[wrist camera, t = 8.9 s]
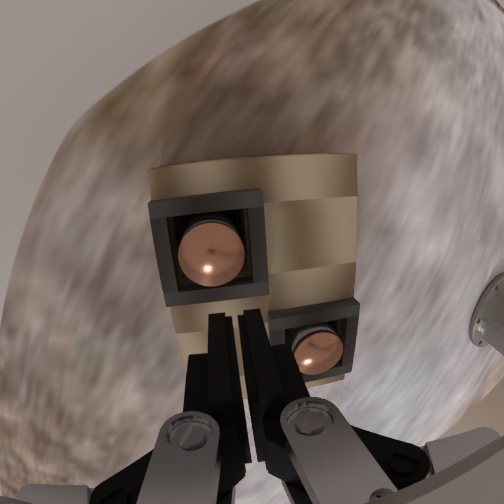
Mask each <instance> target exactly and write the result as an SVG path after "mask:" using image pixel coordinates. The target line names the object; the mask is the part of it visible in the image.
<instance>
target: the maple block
mask: <svg viewBox="0 0 504 504" xmlns="http://www.w3.org/2000/svg"><path fill="white" fill-rule="evenodd" d="M148 178H149V187H150V195H151V201H150V202H149V203H148V209H149V216H150V222H151V229H152V235H153V241H154V247H155V252H156V258H157V263H158V268H159V274H160V279H161V284H162V289H163V293H164V298H165V303H166V307H170V309H171V314H172V318H173V323H174V327H175V331H176V335H177V339H178V343H179V348H180V351H181V355H182V359H183V363H184V367H185V371H186V373H187V363H188V356H189V354H201V353H207V352H208V314H213V313H223V312H225V315H226V316H232V320H233V328H234V336H235V344H236V351H237V359H238V366H239V374H240V381H241V389H242V396H243V399H248V397H247V390H246V383H245V376H244V368H243V360H242V352H241V343H240V335H239V326H238V318H237V315H243V310H249V309H258V308H260V311H261V314H262V318H263V321H264V324H265V328H266V331H267V335H268V338H269V342H270V345H271V346H272V345H279V344H286V343H285V329H289V328H295V327H300V326H306V325H312V324H317V323H322V322H328V323H329V324H330V326H331V327H332V329H333V330H334V331H335V333H336V334H337V336H338V337H339V339H340V340H341V342H342V344H343V353H342V356H341V358H340V359H339V361H338V362H337V363H336V364H335V365H334V366H333V367H332V368H330V369H329V370H327V371H325V372H323V373H320V374H315V375H308V374H304V373H302V372H301V374H302V377H303V380H304V382H305V385H306V387H307V388H309V387H314V386H318V385H323V384H327V383H331V382H335V381H339V380H343V379H344V375H345V373H349V372H351V370H352V364H353V357H354V350H355V343H356V336H357V327H358V319H359V310H360V303H359V302H358V301H357V300H356V299H355V298H354V284H355V268H356V247H357V156H356V154H341V153H311V154H285V155H267V156H252V157H239V158H228V159H218V160H208V161H199V162H191V163H183V164H175V165H168V166H161V167H156V168H152V169H149V170H148ZM234 209H239V216H240V227H241V239H242V244H243V247H244V252H245V257H244V262H243V266H242V268H241V270H240V271H239V273H238V274H237V275H236V276H235V277H234V278H233V279H232V280H231V281H229V282H227V283H225V284H222V285H219V286H203V285H200V284H197V283H195V282H194V281H192V280H191V279H189V278H188V277H187V276H186V275H185V273H184V272H183V270H182V269H181V266H180V264H179V259H178V251H179V246H180V243H181V235H180V228H179V221H178V216H181V215H189V214H198V213H206V212H215V211H224V210H234Z"/></svg>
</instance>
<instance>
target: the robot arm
mask: <svg viewBox="0 0 504 504" xmlns="http://www.w3.org/2000/svg"><path fill="white" fill-rule="evenodd" d="M237 318H238V326H239V335H240V343H241V352H242V360H243V368H244V376H245V383H246V390H247V397H248V403H249V410H250V416H251V423H252V429H253V435H254V442H255V448H256V454H257V460H258V462H262V461H265V464H266V469H267V470H268V473H270V474H272V475H273V476H275V477H277V478H279V479H281V481H282V485H283V487H284V489H285V492H286V494H287V496H288V498H289V501H290V503H291V504H504V436H502V437H501V436H500V435H499V434H498V432H496V431H495V430H493V429H491V428H487V427H481V428H477V429H474V430H471V431H467V432H464V433H461V434H458V435H454V436H450V437H446V438H442V439H438V440H434V441H430V442H426V444H425V445H424V446H421V447H418V446H416V445H413V444H410V443H407V442H403V441H399V440H396V439H392V438H389V437H386V436H382V435H379V434H376V433H373V432H369V431H366V430H363V429H360V428H357V427H354V426H351V425H350V424H349V423H348V422H347V420H346V419H345V417H344V416H343V415H342V413H341V412H340V410H339V409H338V408H337V407H336V406H335V405H334V404H333V403H332V402H330V401H328V400H326V399H322V398H318V397H310V395H309V392H308V390H307V387H306V385H305V382H304V380H303V377H302V374H301V372H300V369H299V367H298V364H297V361H296V359H295V356H294V354H293V351H292V349H291V346H290V344H289V343H286V344H279V345H272V346H271V345H270V342H269V338H268V335H267V331H266V328H265V324H264V321H263V318H262V314H261V311H260V308H258V309H249V310H243V315H237ZM470 339H471V342H472V343H474V344H475V345H476V346H477V347H483V346H486V345H488V344H490V345H491V346H493V347H494V348H495V349H496V350H497V351H499V352H500V353H501V354H502V355H503V356H504V273H502V274H501V275H499V276H498V277H497V278H495V279H494V280H493V281H492V283H491V284H490V285H489V286H488V288H487V289H486V290H485V292H484V293H483V295H482V297H481V299H480V300H479V302H478V304H477V306H476V309H475V311H474V314H473V317H472V320H471V325H470ZM245 463H252V460H251V453H250V446H249V439H248V432H247V425H246V418H245V411H244V404H243V396H242V389H241V381H240V374H239V366H238V359H237V351H236V344H235V336H234V328H233V320H232V316H226V315H225V312H223V313H213V314H208V352H207V353H201V354H189V356H188V363H187V373H186V384H185V395H184V407H183V413H179V414H176V415H174V416H172V417H170V418H169V419H168V420H167V421H166V422H165V423H164V424H163V426H162V427H161V429H160V432H159V435H158V438H157V441H156V444H155V447H154V449H153V450H152V451H150V452H149V453H147V454H146V455H144V456H143V457H141V458H140V459H138V460H137V461H135V462H134V463H132V464H131V465H129V466H127V467H126V468H124V469H123V470H121V471H120V472H118V473H116V474H115V475H113V476H112V477H110V478H108V479H107V480H105V481H103V482H102V483H100V484H99V485H98V486H97V487H95V488H89V487H88V486H87V485H44V484H27V485H25V486H23V487H21V489H20V490H19V491H18V492H17V496H16V499H13V498H8V497H3V496H0V504H235V494H236V487H235V485H236V484H237V483H238V482H239V481H241V480H242V479H243V478H244V477H245V473H246V469H245Z"/></svg>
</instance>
